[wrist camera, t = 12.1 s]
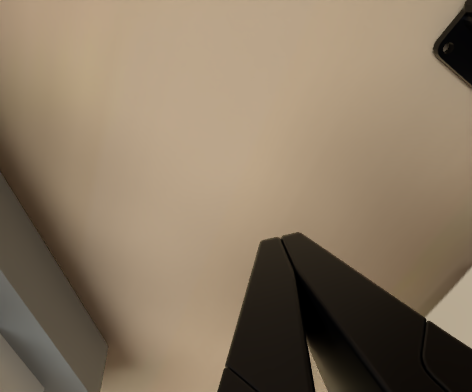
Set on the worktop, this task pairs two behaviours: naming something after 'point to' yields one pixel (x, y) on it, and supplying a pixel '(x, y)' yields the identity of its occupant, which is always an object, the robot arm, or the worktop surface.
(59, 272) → the control box
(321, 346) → the robot arm
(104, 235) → the worktop surface
